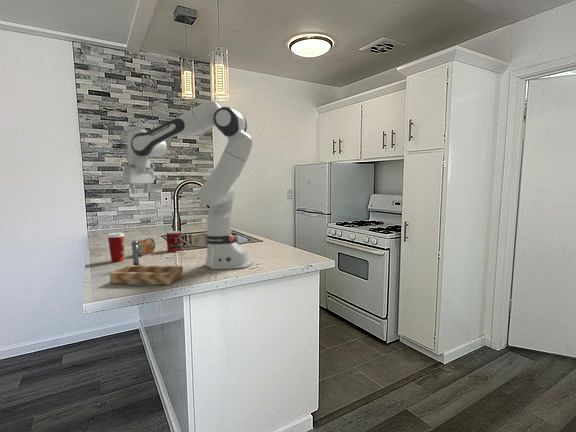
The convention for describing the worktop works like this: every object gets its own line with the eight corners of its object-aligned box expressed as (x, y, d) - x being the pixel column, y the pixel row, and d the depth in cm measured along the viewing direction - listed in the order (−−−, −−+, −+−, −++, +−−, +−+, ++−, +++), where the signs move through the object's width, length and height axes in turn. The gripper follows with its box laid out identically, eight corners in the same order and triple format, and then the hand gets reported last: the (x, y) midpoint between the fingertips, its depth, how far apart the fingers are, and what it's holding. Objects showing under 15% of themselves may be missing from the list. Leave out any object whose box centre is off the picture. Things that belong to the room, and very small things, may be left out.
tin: (138, 257, 171) (137, 241, 170) (133, 257, 172) (132, 241, 171) (156, 251, 186) (155, 236, 185) (151, 251, 186) (150, 236, 185)
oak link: (183, 275, 134) (182, 266, 134) (168, 284, 122) (167, 274, 122) (129, 274, 137) (128, 265, 137) (110, 283, 125) (109, 273, 125)
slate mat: (177, 274, 137) (177, 273, 137) (156, 287, 121) (156, 286, 121) (142, 273, 139) (142, 273, 139) (117, 285, 123) (117, 284, 123)
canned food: (169, 252, 181) (168, 233, 180) (165, 250, 188) (164, 231, 186) (183, 250, 186) (182, 231, 184) (179, 248, 192) (178, 230, 191)
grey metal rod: (142, 266, 152) (140, 239, 150) (137, 268, 148) (135, 241, 147) (135, 266, 152) (133, 239, 151) (130, 268, 149) (128, 241, 147)
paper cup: (128, 260, 163) (126, 233, 162) (111, 263, 158) (109, 235, 157) (123, 258, 169) (121, 231, 168) (107, 261, 164) (105, 233, 162)
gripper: (131, 163, 144) (133, 194, 146) (156, 165, 164) (157, 192, 166) (118, 163, 145) (120, 194, 147) (144, 165, 165) (146, 192, 167)
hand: (140, 193), depth 156 cm, fingers open, 8 cm apart
